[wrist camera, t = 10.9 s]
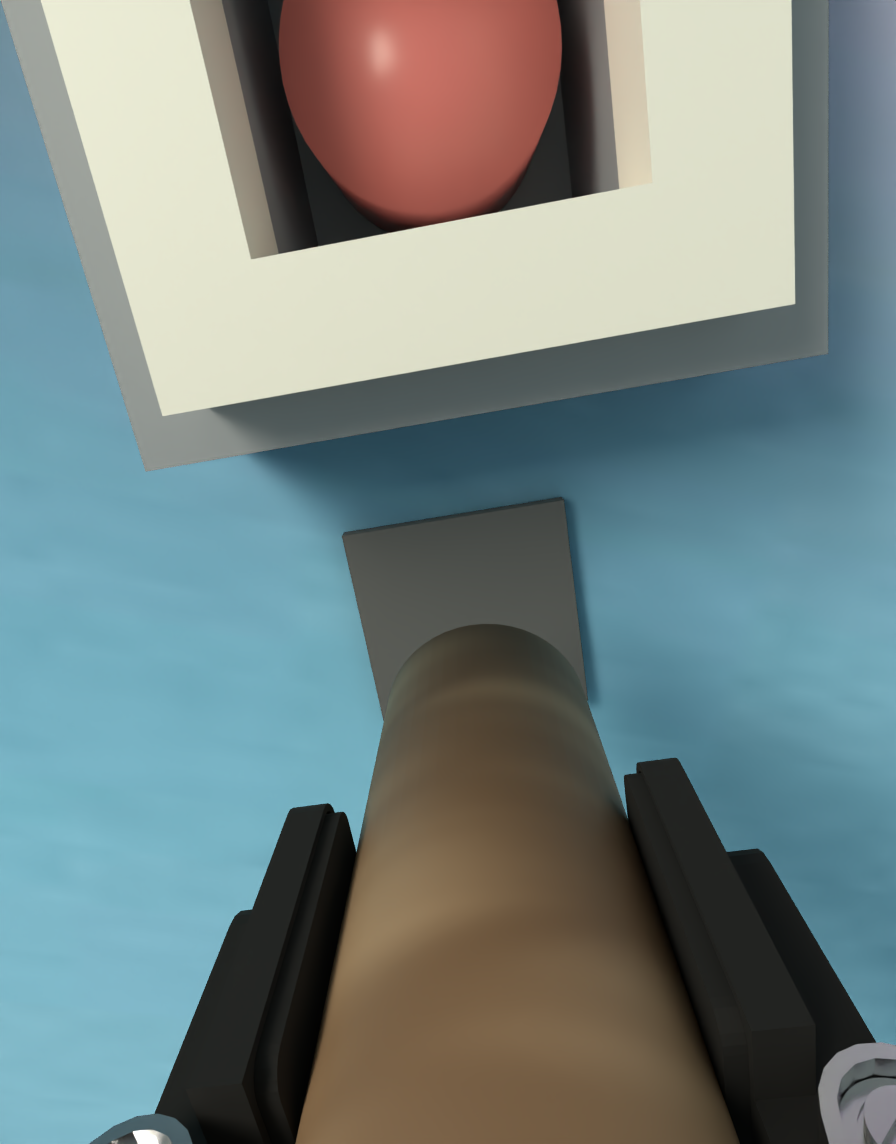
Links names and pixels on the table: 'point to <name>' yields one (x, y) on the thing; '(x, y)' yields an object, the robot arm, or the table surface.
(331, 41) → the egg
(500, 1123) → the brown rounded cylinder
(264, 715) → the table surface
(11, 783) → the table surface
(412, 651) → the coaster
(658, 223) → the grey white square holder
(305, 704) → the table surface
